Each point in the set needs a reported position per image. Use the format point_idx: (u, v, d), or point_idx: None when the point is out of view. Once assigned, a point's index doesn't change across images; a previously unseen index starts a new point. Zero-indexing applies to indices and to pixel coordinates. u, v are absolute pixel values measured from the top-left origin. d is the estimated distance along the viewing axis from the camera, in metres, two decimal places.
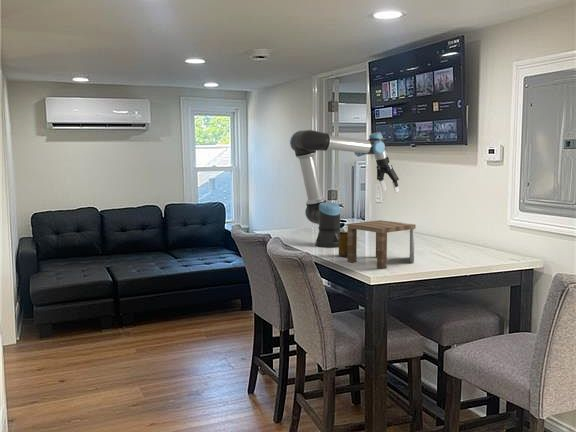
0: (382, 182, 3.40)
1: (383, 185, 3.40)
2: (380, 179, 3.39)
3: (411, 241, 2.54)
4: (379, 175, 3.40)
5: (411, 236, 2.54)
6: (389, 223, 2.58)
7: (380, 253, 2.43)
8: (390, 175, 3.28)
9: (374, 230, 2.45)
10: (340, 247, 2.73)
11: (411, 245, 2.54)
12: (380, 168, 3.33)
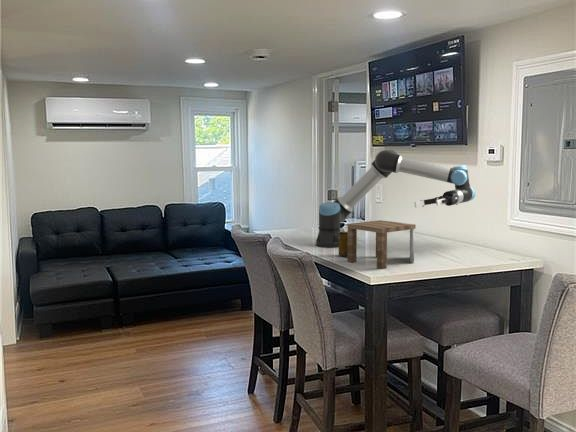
0: (422, 202, 2.83)
1: (420, 203, 2.81)
2: (425, 200, 2.84)
3: (411, 241, 2.54)
4: None
5: (411, 236, 2.54)
6: (389, 223, 2.58)
7: (380, 253, 2.43)
8: None
9: (374, 230, 2.45)
10: (340, 247, 2.73)
11: (411, 245, 2.54)
12: None
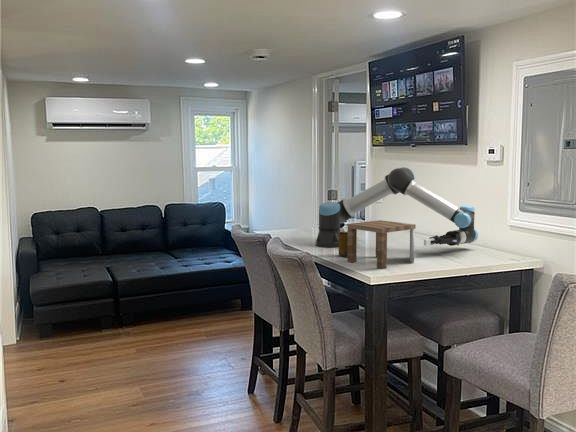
0: None
1: None
2: None
3: (411, 241, 2.54)
4: None
5: (411, 236, 2.54)
6: (389, 223, 2.58)
7: (380, 253, 2.43)
8: (442, 238, 2.73)
9: (374, 230, 2.45)
10: (340, 247, 2.73)
11: (411, 245, 2.54)
12: None
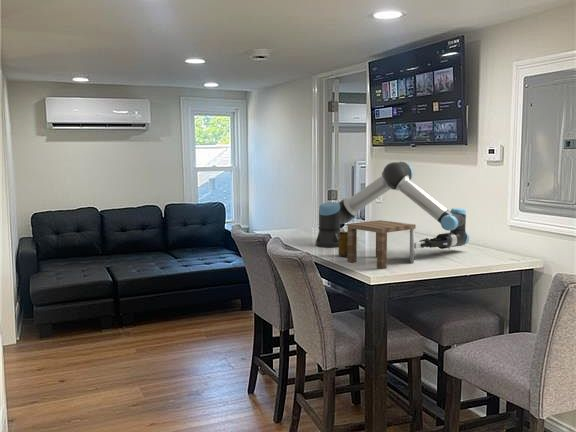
0: None
1: None
2: (424, 241, 2.68)
3: (411, 241, 2.54)
4: None
5: (411, 236, 2.54)
6: (389, 223, 2.58)
7: (380, 253, 2.43)
8: (433, 242, 2.68)
9: (374, 230, 2.45)
10: (340, 247, 2.73)
11: (411, 245, 2.54)
12: None
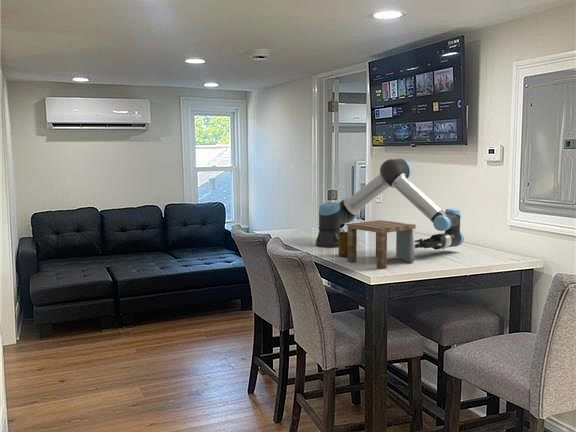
0: None
1: None
2: (418, 242, 2.67)
3: (412, 241, 2.54)
4: None
5: (412, 236, 2.54)
6: (389, 223, 2.58)
7: (380, 253, 2.43)
8: (427, 242, 2.66)
9: (374, 230, 2.45)
10: (340, 247, 2.73)
11: (412, 245, 2.54)
12: (429, 238, 2.73)
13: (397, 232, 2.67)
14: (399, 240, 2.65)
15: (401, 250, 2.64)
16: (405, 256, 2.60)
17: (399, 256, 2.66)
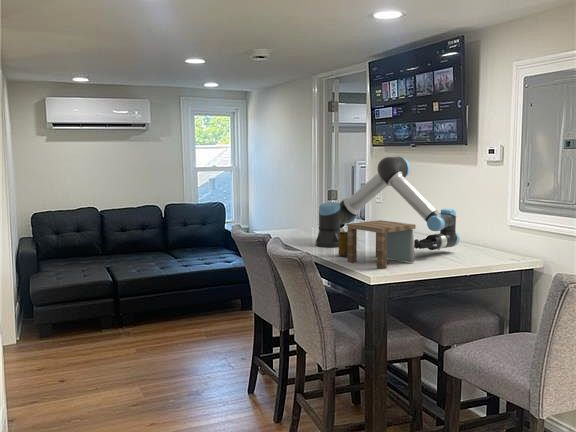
0: None
1: None
2: (414, 242, 2.65)
3: (413, 241, 2.54)
4: None
5: (413, 236, 2.54)
6: (389, 223, 2.58)
7: (380, 253, 2.43)
8: (422, 243, 2.65)
9: (374, 230, 2.45)
10: (340, 247, 2.73)
11: (413, 245, 2.54)
12: None
13: (387, 233, 2.63)
14: (391, 241, 2.62)
15: (394, 251, 2.61)
16: (402, 257, 2.58)
17: (391, 257, 2.63)
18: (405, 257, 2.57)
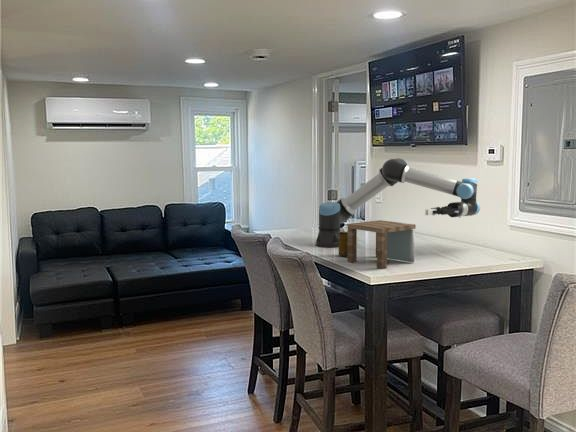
0: None
1: None
2: (436, 209, 2.72)
3: (413, 241, 2.54)
4: None
5: (413, 236, 2.54)
6: (389, 223, 2.58)
7: (380, 253, 2.43)
8: None
9: (374, 230, 2.45)
10: (340, 247, 2.73)
11: (413, 245, 2.54)
12: (446, 206, 2.78)
13: (387, 233, 2.63)
14: (391, 241, 2.62)
15: (394, 251, 2.61)
16: (402, 257, 2.58)
17: (391, 257, 2.63)
18: (405, 257, 2.57)
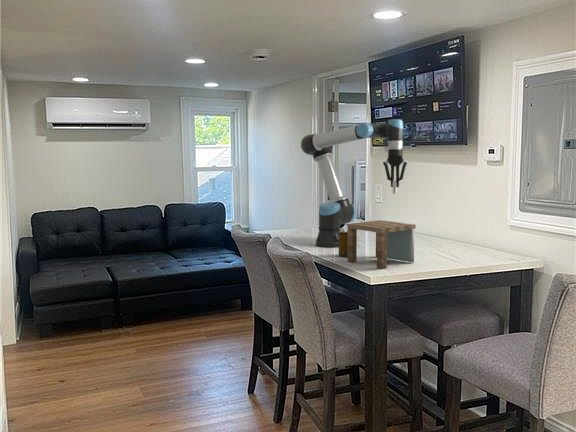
0: None
1: None
2: None
3: (413, 241, 2.54)
4: (401, 173, 2.93)
5: (413, 236, 2.54)
6: (389, 223, 2.58)
7: (380, 253, 2.43)
8: None
9: (374, 230, 2.45)
10: (340, 247, 2.73)
11: (413, 245, 2.54)
12: None
13: (387, 233, 2.63)
14: (391, 241, 2.62)
15: (394, 251, 2.61)
16: (402, 257, 2.58)
17: (391, 257, 2.63)
18: (405, 257, 2.57)
